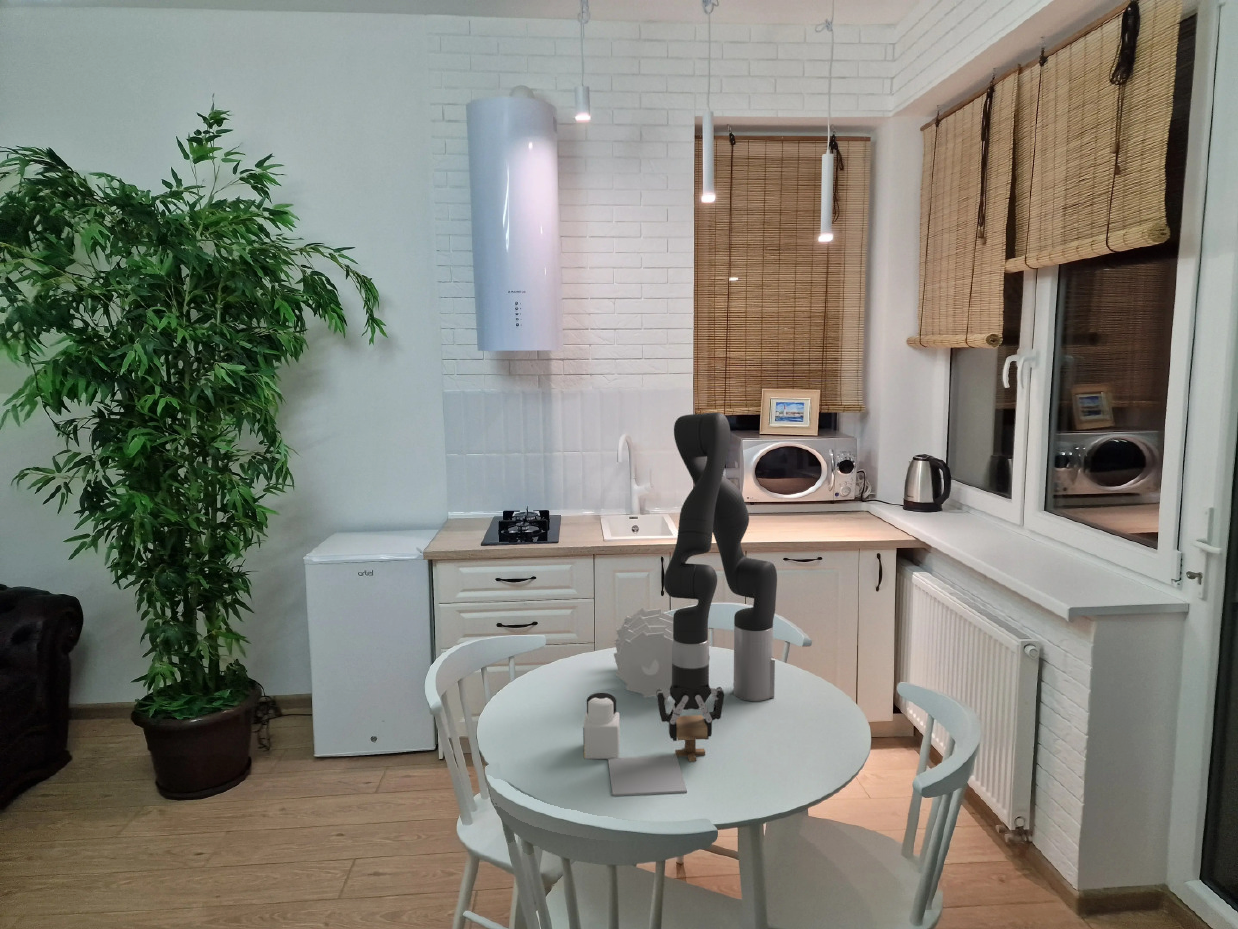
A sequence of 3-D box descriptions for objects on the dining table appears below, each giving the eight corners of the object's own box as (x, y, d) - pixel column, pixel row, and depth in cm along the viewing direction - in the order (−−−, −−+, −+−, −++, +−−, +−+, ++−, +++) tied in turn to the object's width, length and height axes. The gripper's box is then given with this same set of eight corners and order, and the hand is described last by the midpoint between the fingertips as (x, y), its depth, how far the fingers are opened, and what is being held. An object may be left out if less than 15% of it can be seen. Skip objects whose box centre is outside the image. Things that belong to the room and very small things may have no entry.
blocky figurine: (586, 743, 177) (585, 689, 176) (619, 743, 177) (619, 689, 176) (583, 759, 170) (582, 703, 169) (618, 759, 170) (618, 703, 168)
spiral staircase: (664, 680, 222) (669, 716, 197) (604, 652, 221) (601, 685, 196) (694, 619, 220) (702, 647, 195) (633, 591, 220) (634, 616, 195)
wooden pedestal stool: (702, 747, 175) (702, 715, 174) (707, 760, 169) (707, 727, 168) (673, 748, 175) (673, 716, 174) (677, 762, 169) (677, 729, 168)
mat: (676, 757, 171) (676, 755, 171) (687, 792, 157) (687, 790, 157) (608, 760, 170) (607, 758, 170) (612, 796, 156) (612, 794, 156)
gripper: (721, 652, 174) (721, 729, 176) (653, 654, 173) (653, 732, 175) (729, 665, 166) (728, 745, 168) (657, 668, 165) (657, 748, 167)
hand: (690, 738), depth 172 cm, fingers closed on wooden pedestal stool, 6 cm apart
